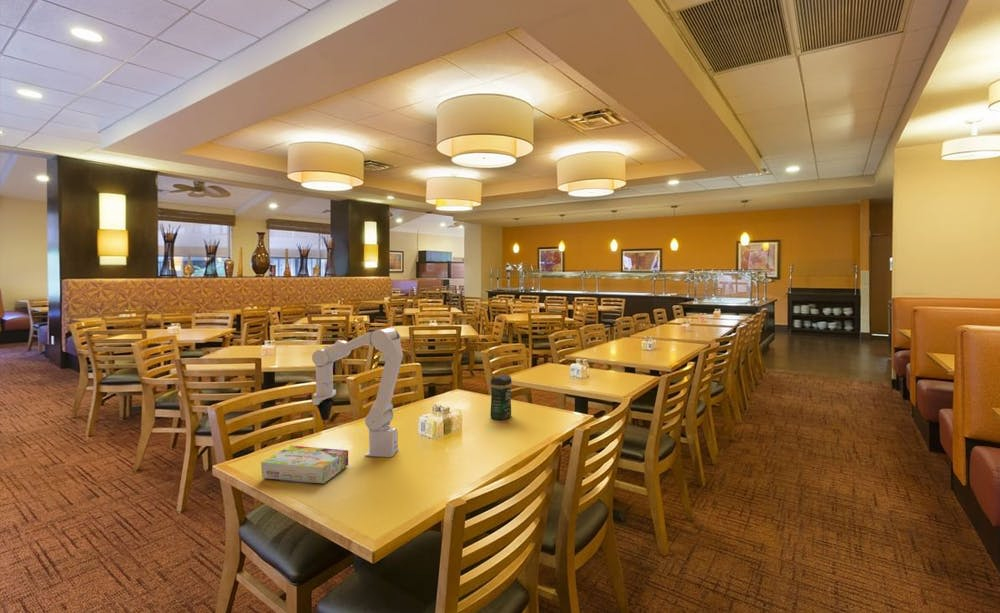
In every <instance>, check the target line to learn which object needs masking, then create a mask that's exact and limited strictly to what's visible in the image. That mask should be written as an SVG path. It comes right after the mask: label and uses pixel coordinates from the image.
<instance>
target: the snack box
mask: <svg viewBox="0 0 1000 613" xmlns="http://www.w3.org/2000/svg"><path fill="white" fill-rule="evenodd" d="M260 465H261V467H260V468H261V478H262V479H269V480H270V479H271V480H279V481H280V480H291V481H302V482H301V483H305V482H312V483H311V484H325V483H327V482H328V481H329V480H331V479H332V478H333V477H335V476H336V475H337V474H338V473H340V472H341V471H342V470H343V469H345V468H346V467H347V466H349V450H347V449H338V448H337V449H336V448H323V447H314V446H313V447H312V446H301V445H289V446H287V447H286V448H284V449H283V450H281V451H278V452H277V453H275V454H274V455H272V456H270V457H269V458H266V459H264V460H262V461H261V462H260Z"/></svg>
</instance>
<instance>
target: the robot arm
mask: <svg viewBox="0 0 1000 613" xmlns="http://www.w3.org/2000/svg"><path fill="white" fill-rule="evenodd" d="M401 340H402V336H401V334H400V333H399V332H398V330H397V329H396V328H395V327H391V326H389V327H386V328H383V329H377V330H374V331H369V332H366V333H363V334H362V335H359V336H357V337H355V338H353V339H351V340H349V341H347V340H341V339H338V340H336V341H335V342H334V343H333V344H331V345H325V346H324V348H321V349H316V350H315V351H314V352H313V353H312V356H311V360H312V363H313V364H314V365H315V391H316V392H315V393H313V395H312V396H313V397H314V398H312V405H314V406H316V408H317V410H318V412H319V415H320V418H321V421H327V420H330V416H331V411H332V407H333V405H334V403H335V402H336V401H335V398H334V396H336V395H337V389H334V376H333V375H334V374H333V372H334V371H333V368H334V362H335V361H338V360H341V359H343V358H345V357H348V356H350V354H351V351H352V350H355V349H357V348H358V349H359V348H360V347H363V346H365V345H368V346H373V347H374V348H375V349H377V351H379V352H380V353H381V354H382V356H384V357H385V362H384V365H383V371H382V374H381V378H380V381H379V384H378V385H379V386H378V390H377V394H376V397H375V401H374V403H373V404H372V405H371V407H370V410H369V412H368V413H367V415H366V416H365V417H364V419H365V420H364V422H365V426H366V427H367V429H368V437H369V438H368V442H369V444H368V445H369V450H368V452H366V453H365V457H377V458H378V457H380V458H382V457H384V458H391V457H393V456H394V455H395V454H396V453H397V452H398V451H399V447H398V446H399V441H398V437H399V436H398V429H397V428H394V427H391V422H392V420H393V419H394V410H393V409H394V405H393V403H392V400H393V396H394V392H395V388H396V384H397V381H398V377H399V373H400V370H401V369H400V368H401V366H402V361H403V357H404V352H403V348H402V343H401ZM332 397H333V398H332Z"/></svg>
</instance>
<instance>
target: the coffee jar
mask: <svg viewBox="0 0 1000 613" xmlns="http://www.w3.org/2000/svg"><path fill="white" fill-rule="evenodd" d="M512 385H513V384H512V376H510V375H508V374H500V375H497V376H493V377H492V378H491V379H490V388H491V393H490V394H491V395H490V396H491V399H490V412H489V413H490V414H489V416H490V418H492V419H493V420H497V419H498V420H505V419H508V418H510V417H512V401H511V400H512V398H511V397H512V396H511V393H512V392H511V391H512Z"/></svg>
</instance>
